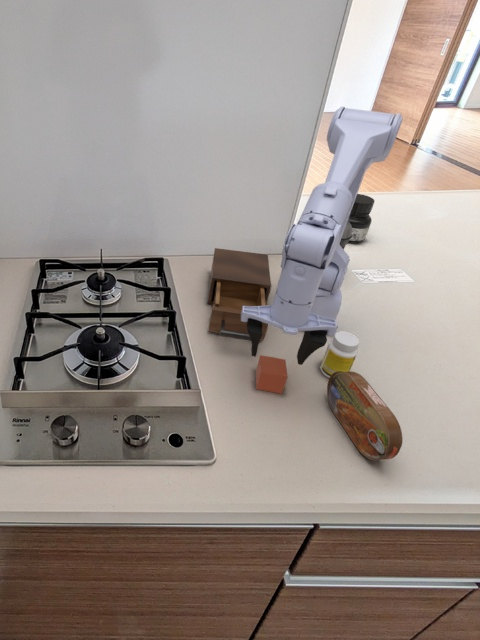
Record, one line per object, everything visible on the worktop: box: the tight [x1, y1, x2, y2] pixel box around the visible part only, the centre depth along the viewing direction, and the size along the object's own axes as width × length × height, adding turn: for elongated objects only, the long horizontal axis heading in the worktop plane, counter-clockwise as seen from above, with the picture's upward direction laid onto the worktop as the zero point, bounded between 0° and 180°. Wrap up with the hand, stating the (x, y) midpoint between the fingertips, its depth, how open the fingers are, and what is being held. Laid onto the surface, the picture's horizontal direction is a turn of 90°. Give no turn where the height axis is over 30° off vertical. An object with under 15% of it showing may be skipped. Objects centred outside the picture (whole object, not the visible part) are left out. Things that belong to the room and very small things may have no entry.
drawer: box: [207, 281, 269, 342], centre depth 91 cm, size 17×11×6 cm, turn 165°
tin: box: [326, 371, 403, 462], centre depth 69 cm, size 15×3×8 cm, turn 5°
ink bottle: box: [347, 193, 375, 245], centre depth 123 cm, size 10×9×12 cm
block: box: [255, 354, 288, 395], centre depth 79 cm, size 4×4×4 cm
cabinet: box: [207, 247, 272, 306], centre depth 102 cm, size 13×12×7 cm
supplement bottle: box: [319, 330, 360, 379], centre depth 80 cm, size 5×5×8 cm
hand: (276, 356), depth 77 cm, fingers open, 7 cm apart
